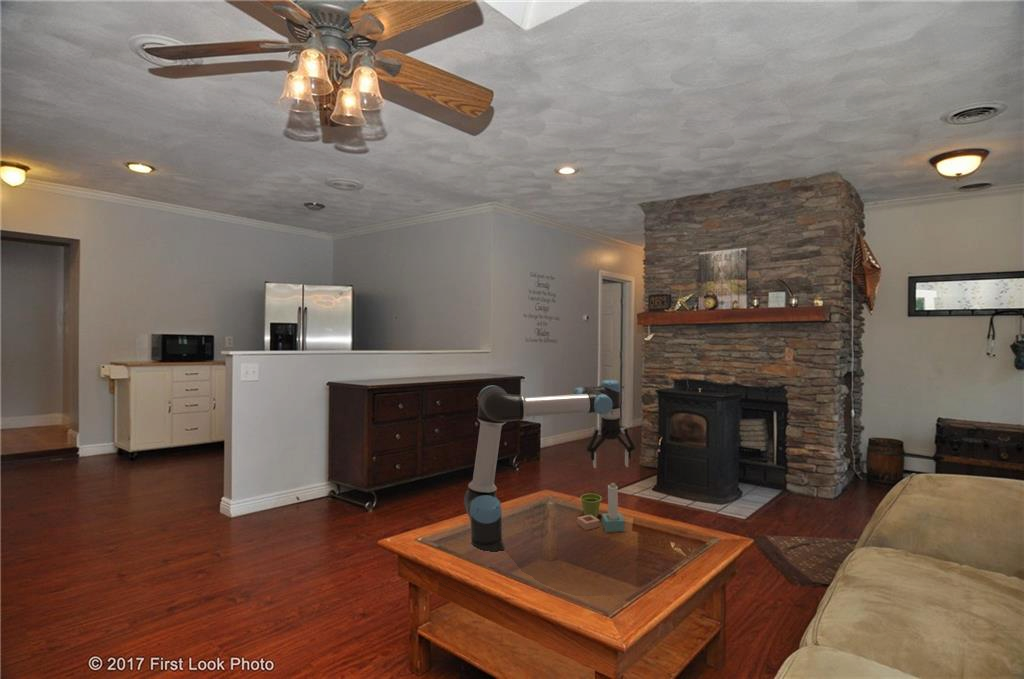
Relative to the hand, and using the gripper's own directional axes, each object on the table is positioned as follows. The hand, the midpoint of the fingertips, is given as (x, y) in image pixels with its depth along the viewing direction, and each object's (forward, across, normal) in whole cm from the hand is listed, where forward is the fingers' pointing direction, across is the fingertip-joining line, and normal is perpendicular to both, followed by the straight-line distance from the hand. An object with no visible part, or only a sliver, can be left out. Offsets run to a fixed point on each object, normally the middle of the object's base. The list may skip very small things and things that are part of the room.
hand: (610, 466), depth 234 cm
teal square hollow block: (+27, +1, 0) cm, 27 cm away
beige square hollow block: (+27, -9, +3) cm, 28 cm away
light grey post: (+27, +1, 0) cm, 27 cm away
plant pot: (+27, -6, +12) cm, 30 cm away
